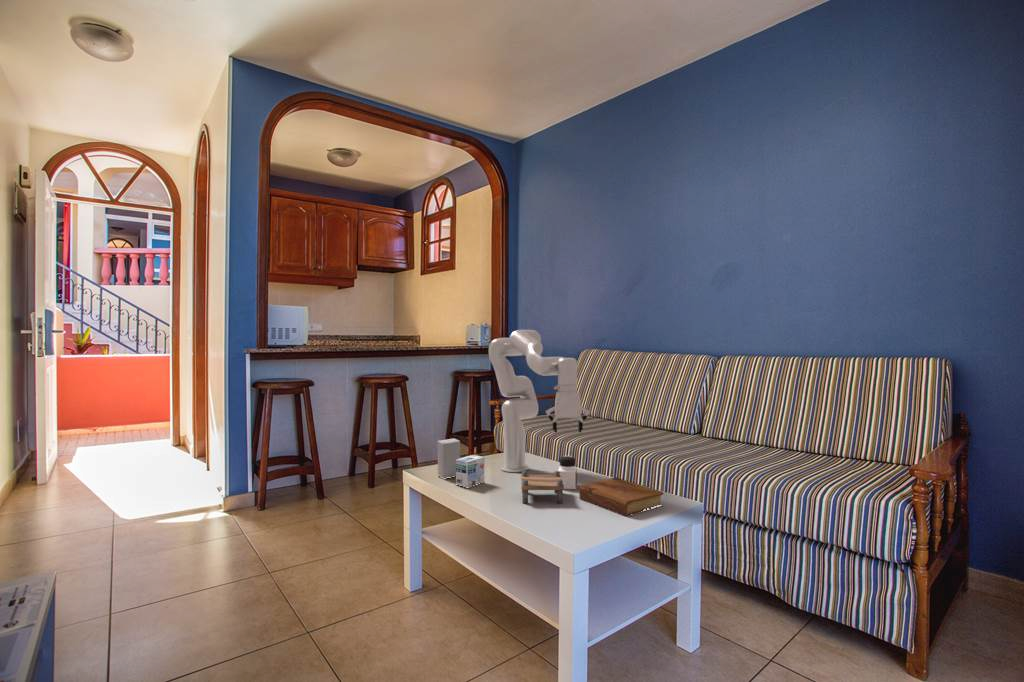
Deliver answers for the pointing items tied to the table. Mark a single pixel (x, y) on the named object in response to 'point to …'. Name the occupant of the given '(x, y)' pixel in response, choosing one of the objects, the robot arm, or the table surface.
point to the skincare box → (448, 457)
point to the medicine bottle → (568, 472)
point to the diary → (620, 495)
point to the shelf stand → (542, 484)
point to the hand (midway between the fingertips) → (567, 431)
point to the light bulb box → (469, 470)
